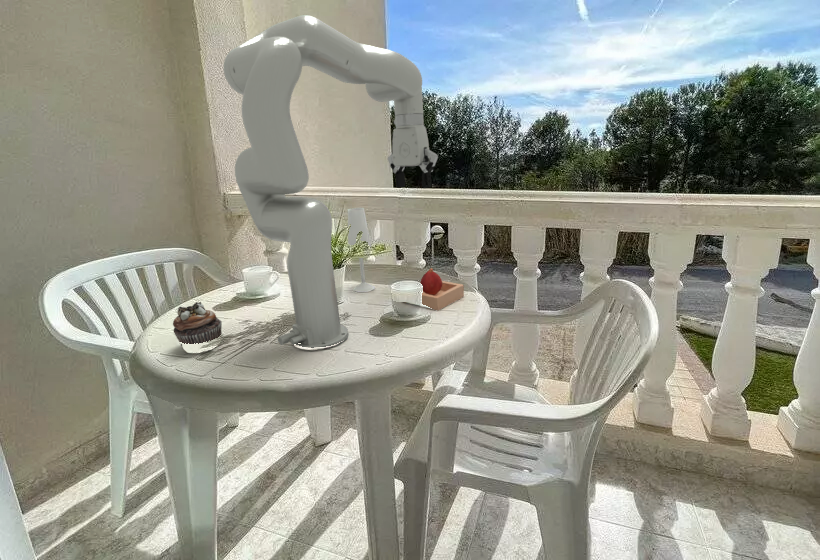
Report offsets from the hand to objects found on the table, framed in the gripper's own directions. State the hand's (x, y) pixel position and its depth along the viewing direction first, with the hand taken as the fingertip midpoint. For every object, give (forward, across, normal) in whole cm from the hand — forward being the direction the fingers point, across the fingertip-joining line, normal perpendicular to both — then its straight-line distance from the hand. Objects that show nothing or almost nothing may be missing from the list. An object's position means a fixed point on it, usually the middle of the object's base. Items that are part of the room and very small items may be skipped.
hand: (413, 187), depth 118 cm
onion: (+28, +11, -8) cm, 31 cm away
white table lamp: (+29, -13, -11) cm, 34 cm away
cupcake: (+29, -16, -58) cm, 67 cm away
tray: (+29, +11, -7) cm, 32 cm away
